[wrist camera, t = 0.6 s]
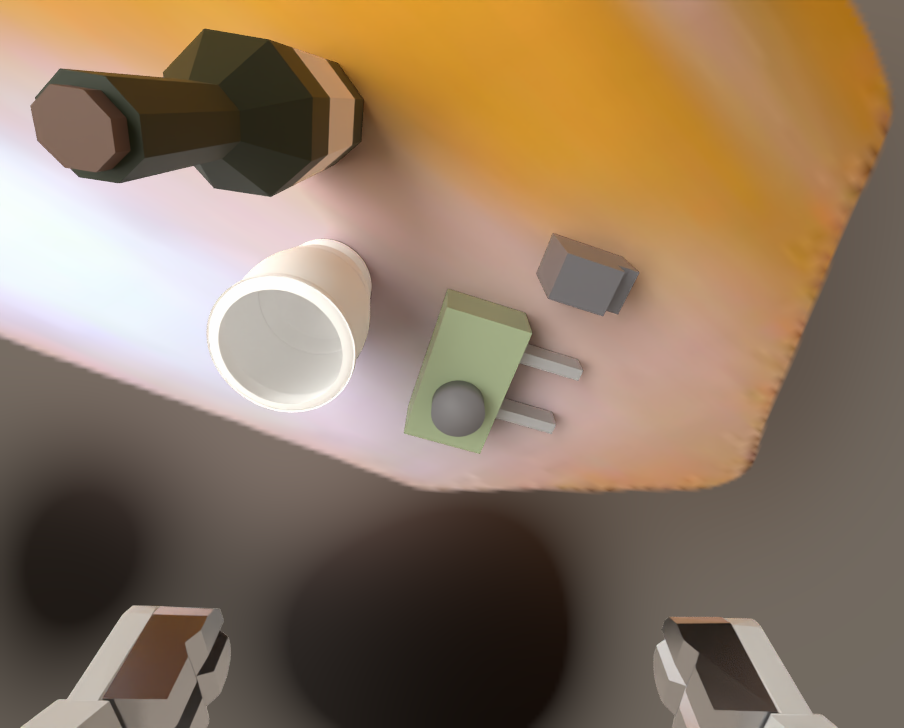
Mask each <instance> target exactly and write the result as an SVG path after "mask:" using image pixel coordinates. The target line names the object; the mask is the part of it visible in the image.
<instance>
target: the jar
mask: <svg viewBox="0 0 904 728" xmlns="http://www.w3.org/2000/svg"><path fill="white" fill-rule="evenodd" d="M371 290H372V284H371V277H370V274H369V271H368V268H367V266H366V264H365V263H364V261H363V260H362V258H361V257H360V256H359V255H358V254H357V253H356V252H355V251H354V250H353V249H351V248H350V247H348V246H347V245H345V244H343V243H341V242H338V241H335V240H330V239H316V240H311V241H308V242H306V243H304V244H302V245H300V246H297V247H294V248H291V249H287V250H284V251H281V252H278V253H276V254H274V255H272V256H270V257H268V258H266V259H265V260H263V261H262V262H260V263H259V264H258V265H256V266H255V267H254V268H253V269H252V270H251V271H250V272H249V273H248V274H247V275H246V276H245V277H244V279H243V280H241V281H239V282H237V283H236V284H234V285H233V286H231V287H230V288H229V289H227V290H226V291H225V292H224V293H223V294H222V295H221V296H220V297H219V298H218V300H217V301H216V303H215V304H214V306H213V308H212V310H211V313H210V315H209V319H208V323H207V343H208V348H209V352H210V355H211V358H212V360H213V363H214V365H215V367H216V368H217V370H218V372H219V373H220V375H221V376H222V377H223V379H224V380H225V381H226V382H227V383H228V384H229V385H230V386H231V387H232V388H233V389H234V390H235V391H236V392H237V393H239V394H240V395H241V396H243V397H244V398H246V399H248V400H249V401H251V402H253V403H255V404H257V405H259V406H262V407H265V408H268V409H271V410H276V411H281V412H303V411H308V410H312V409H315V408H318V407H321V406H323V405H325V404H327V403H328V402H330V401H331V400H333V399H334V398H335V397H336V396H338V395H339V394H340V392H341V391H342V390H343V389H344V388H345V386H346V385H347V383H348V381H349V379H350V378H351V375H352V373H353V370H354V367H355V363H356V359H357V357H358V356H359V354H360V352H361V350H362V348H363V346H364V343H365V341H366V338H367V334H368V330H369V324H370V296H371Z"/></svg>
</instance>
